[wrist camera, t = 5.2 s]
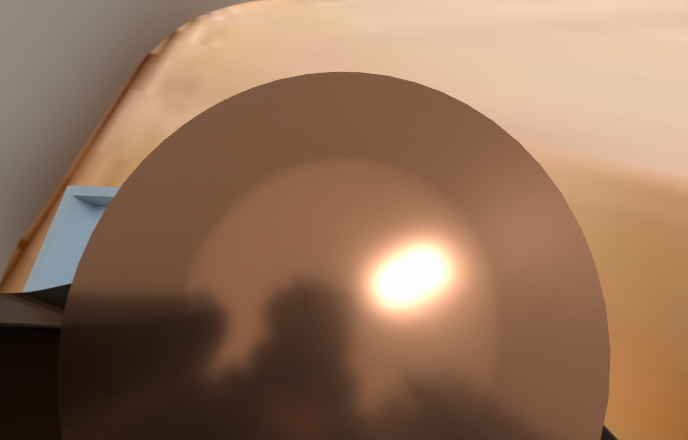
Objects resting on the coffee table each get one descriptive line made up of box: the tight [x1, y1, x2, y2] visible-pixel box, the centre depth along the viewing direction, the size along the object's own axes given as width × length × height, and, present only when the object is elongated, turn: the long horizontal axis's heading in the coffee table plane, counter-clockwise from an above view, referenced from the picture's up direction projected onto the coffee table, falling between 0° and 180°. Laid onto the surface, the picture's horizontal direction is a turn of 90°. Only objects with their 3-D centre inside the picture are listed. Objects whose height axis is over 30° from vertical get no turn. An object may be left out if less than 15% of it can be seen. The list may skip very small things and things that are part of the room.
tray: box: [22, 186, 121, 293], centre depth 21 cm, size 22×16×3 cm
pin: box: [57, 72, 610, 440], centre depth 9 cm, size 6×6×12 cm
